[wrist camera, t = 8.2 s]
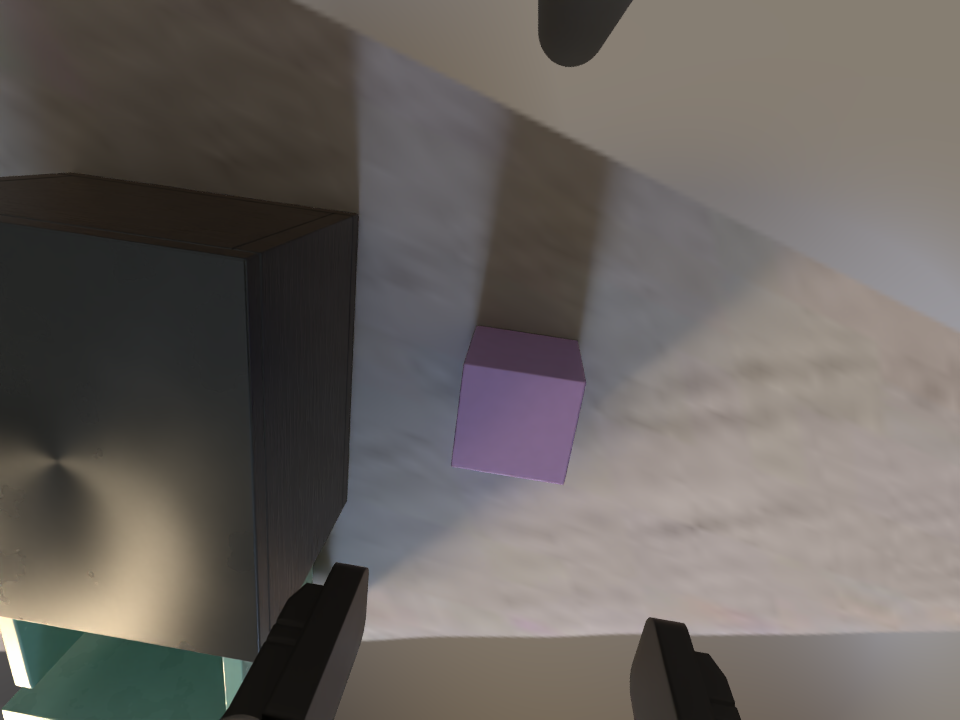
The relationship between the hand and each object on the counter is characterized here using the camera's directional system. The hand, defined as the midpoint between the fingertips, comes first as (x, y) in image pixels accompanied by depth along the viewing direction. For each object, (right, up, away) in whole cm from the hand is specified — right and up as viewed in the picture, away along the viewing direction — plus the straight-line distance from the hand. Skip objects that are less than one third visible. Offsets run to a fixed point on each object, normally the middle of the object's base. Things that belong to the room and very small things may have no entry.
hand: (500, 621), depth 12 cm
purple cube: (+1, +5, +13) cm, 14 cm away
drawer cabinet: (-13, +6, +14) cm, 20 cm away
